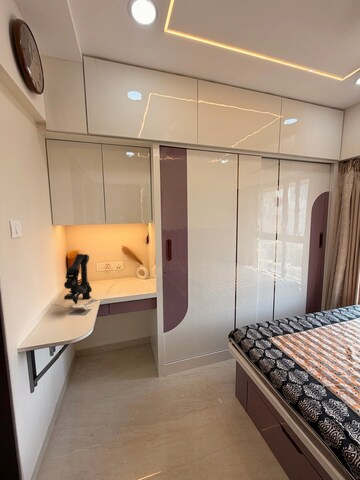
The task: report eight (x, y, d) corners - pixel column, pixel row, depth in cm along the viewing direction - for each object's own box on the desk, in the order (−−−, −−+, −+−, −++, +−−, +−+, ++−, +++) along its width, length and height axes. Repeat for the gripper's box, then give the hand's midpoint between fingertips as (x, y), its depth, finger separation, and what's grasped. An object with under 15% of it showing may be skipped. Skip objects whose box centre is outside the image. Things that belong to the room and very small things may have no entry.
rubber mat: (74, 309, 161) (74, 308, 161) (92, 309, 160) (91, 308, 160) (67, 315, 151) (67, 315, 151) (85, 316, 150) (85, 315, 150)
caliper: (92, 298, 178) (98, 299, 176) (92, 300, 178) (98, 300, 176) (74, 309, 158) (80, 309, 157) (74, 310, 158) (80, 311, 157)
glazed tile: (77, 307, 159) (73, 304, 154) (87, 307, 159) (83, 304, 153) (76, 310, 158) (72, 307, 153) (86, 310, 158) (82, 307, 152)
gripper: (77, 288, 146) (79, 309, 148) (90, 279, 164) (92, 298, 166) (62, 288, 147) (64, 309, 149) (77, 280, 165) (78, 298, 167)
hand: (76, 303), depth 158 cm, fingers closed
